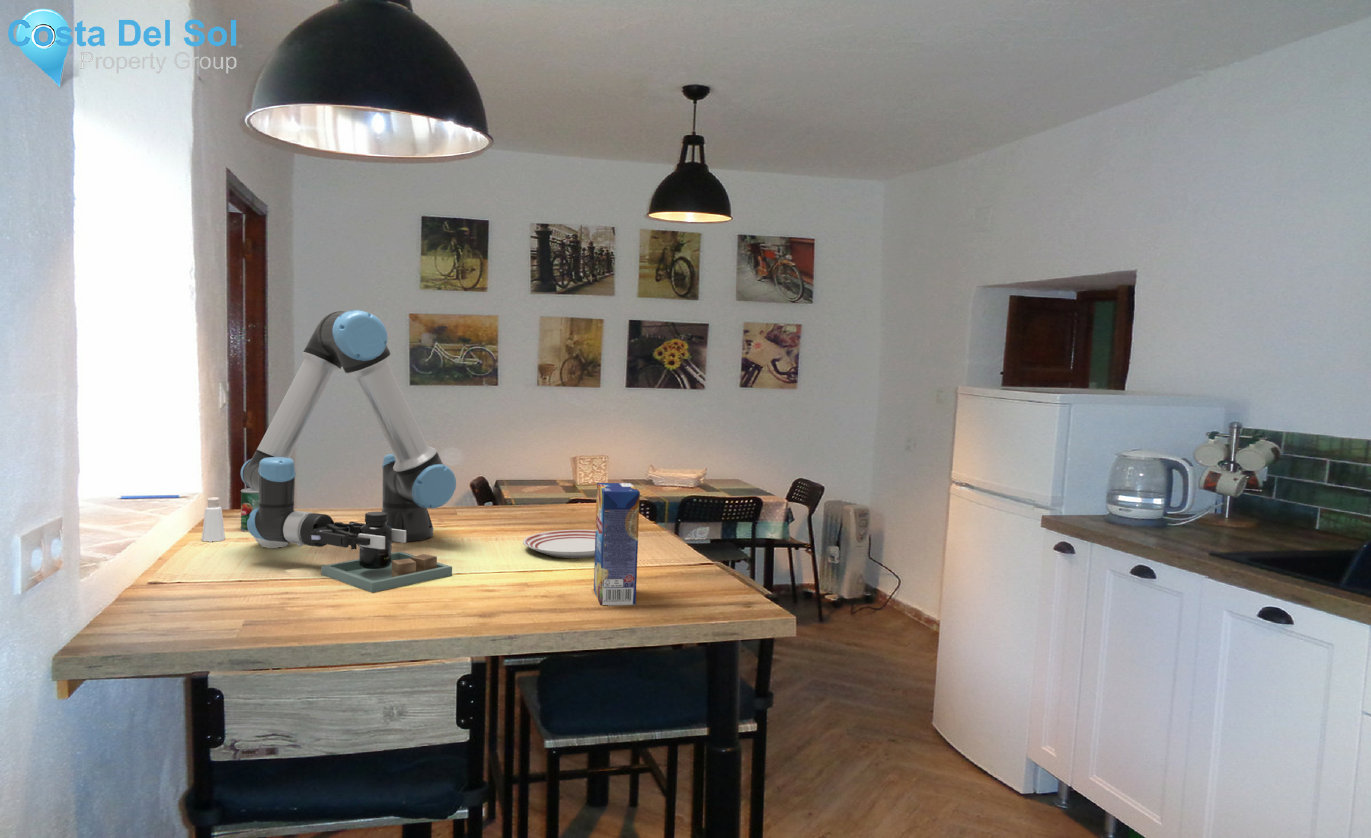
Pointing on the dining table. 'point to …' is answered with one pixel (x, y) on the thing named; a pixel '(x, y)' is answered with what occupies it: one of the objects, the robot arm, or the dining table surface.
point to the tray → (381, 574)
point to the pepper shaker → (213, 522)
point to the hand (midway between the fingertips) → (394, 539)
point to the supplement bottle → (379, 527)
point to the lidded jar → (270, 543)
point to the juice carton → (616, 543)
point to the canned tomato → (248, 505)
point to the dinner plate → (564, 543)
